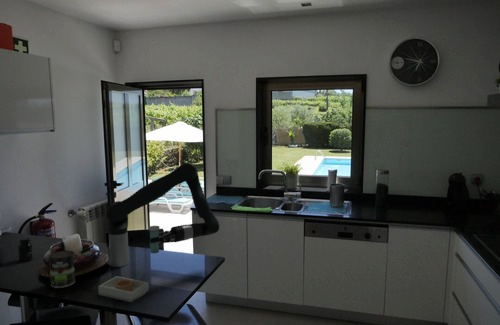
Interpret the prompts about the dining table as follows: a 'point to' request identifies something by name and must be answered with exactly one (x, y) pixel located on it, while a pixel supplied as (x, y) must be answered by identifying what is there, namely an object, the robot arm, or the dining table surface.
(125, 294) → the open box
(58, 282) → the coffee can
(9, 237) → the dining table surface
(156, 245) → the teal capped tube
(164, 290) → the dining table surface
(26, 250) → the supplement bottle
